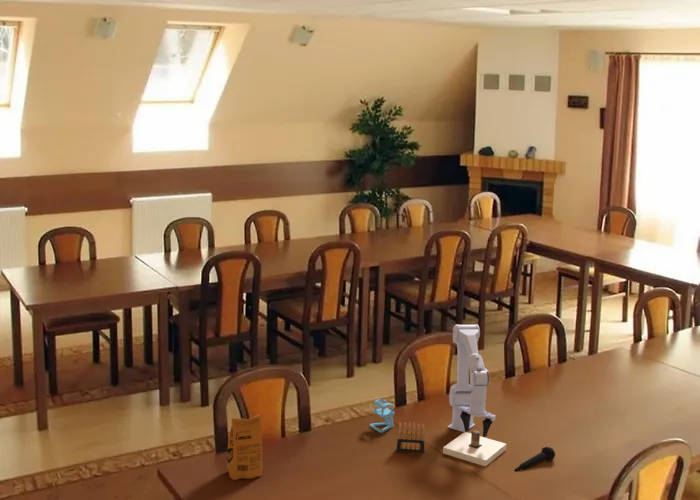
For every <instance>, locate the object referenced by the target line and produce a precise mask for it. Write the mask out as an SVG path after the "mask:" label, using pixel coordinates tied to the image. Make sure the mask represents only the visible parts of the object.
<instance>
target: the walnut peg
mask: <svg viewBox="0 0 700 500" xmlns="http://www.w3.org/2000/svg"><path fill="white" fill-rule="evenodd" d="M471 434H472V435H471V446H472V447H473V448H476V449H478V447H479V441H480V436H481V432H480V431H478V430H472V431H471Z"/></svg>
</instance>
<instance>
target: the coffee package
mask: <svg viewBox="0 0 700 500" xmlns="http://www.w3.org/2000/svg"><path fill="white" fill-rule="evenodd" d="M230 427H231V428H230V431H229V434H228V435H229V436H228V441H227V449H226V450H227V451H226V468H227V471H228V473H229V474H228V476H229V478H230V479H232V480H233V481H236V480H241V479H246V480H251V479H255V478H258V477H259V478H260V477H262V476H263V466H264V465H263V431H262V430H263V429H262V416H261V415H260V414H258V415H254V416H252V417H249V418H239V417H232V418H231V426H230Z"/></svg>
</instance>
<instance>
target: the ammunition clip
mask: <svg viewBox="0 0 700 500" xmlns="http://www.w3.org/2000/svg"><path fill="white" fill-rule="evenodd" d="M412 423H413V424H412V425H411V422H410V421H409V422H408V424H407V423H406V421H404V422H403V426H402V422H401V421H399V422H398V427H397V428H398V429H397V437H396V439H397V440H396V452H399V453H401V452H402V453H403V452H404V453H416V454H417V453H418V454H419V453H420V454H425V441H426V439H425V438H426V432H425V431H426V430H425V428H426V427H425V423H424V422H422V424H421V425H420V422H418V423H417V424H416V423H415V422H412ZM416 425H417V426H416Z"/></svg>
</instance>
